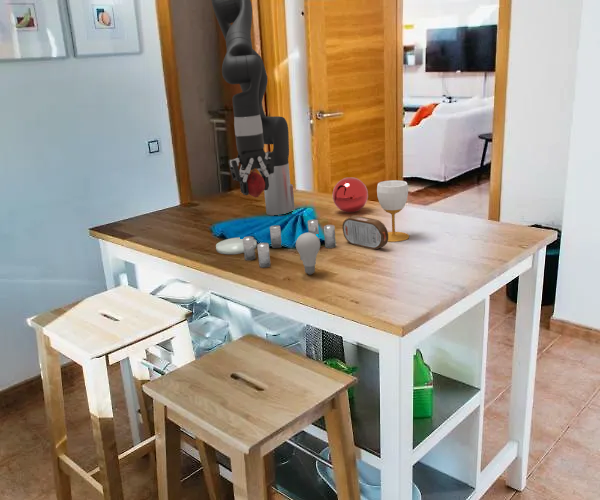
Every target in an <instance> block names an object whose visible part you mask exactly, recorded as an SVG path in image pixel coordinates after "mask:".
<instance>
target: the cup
mask: <svg viewBox="0 0 600 500" xmlns="http://www.w3.org/2000/svg"><path fill="white" fill-rule="evenodd" d="M376 194H377V199H378V203H379V205H380V207H381V208H382V209H383V211H385V212H386V213H388V214H390V215H391V231H388V242H387V243H397V242H398V243H399V242H403V241H406V240H408V239H409V238H410V235H409V234H408V233H406V232H402V231H396V222H395V221H396V220H395V215H396V214H398V213H400V212H401V211H402V210H403V209H404V208H405V206H406V203H407V200H408V196H409V185H408V182H407V181H405V180H399V179H398V180H397V179H395V180H392V179H391V180H384V181H380V182H378V183H377V187H376Z"/></svg>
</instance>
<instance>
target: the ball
mask: <svg viewBox="0 0 600 500" xmlns="http://www.w3.org/2000/svg"><path fill="white" fill-rule="evenodd" d="M332 190H333V191H332V200H333V203H334V205H335V206H336V208H337V209H339V211H341V212H344V213H348V214H349V213H351V214H352V213H357V212H358V211H360V210H362V209H363V208H364V207H365V206H366V204H367V202H368V198H369V193H368V192H369V191H368V188H367V186H366V184H364V182H363V181H362V180H360V179H359V178H357V177H343V178H342V179H340V180H339V181H338V182H337V183H336V184H335V185H334V187H333V189H332Z"/></svg>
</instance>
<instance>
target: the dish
mask: <svg viewBox="0 0 600 500" xmlns="http://www.w3.org/2000/svg"><path fill="white" fill-rule="evenodd" d="M253 239H254V248H255V249H256V248H257V244H258V243H257V240H256V239H255V238H253ZM215 247H216V248H215V249H216V250H215V251H216V253H219V254H222V255H241V254H244V247H243V239H240V237H231V238H228V239H227V238H226V239H224V240H221V241H219V242H218V243H216V245H215Z"/></svg>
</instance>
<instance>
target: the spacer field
mask: <svg viewBox="0 0 600 500" xmlns="http://www.w3.org/2000/svg"><path fill="white" fill-rule="evenodd" d="M307 229H308V230H307V231H308V232H307V233H313V234H315V235H316V234H319V233H320V230H319V220H318V219H309V220H307ZM335 230H336V227H335V225H334V224H326V225H324V226H323V234H324V236H323V237H324V247H325V248H328V249H333V248H336V246H337V245H336V231H335ZM269 231H270V232H269V233H270V234H269V235H270V242H271V248H272V249H280V248H282V247H283V245H282V246H281V243H282V231H281V226H280V225H275V224H274V225H271V226H269ZM319 235H320V234H319ZM254 239H255V238H254V236H244V238H243V247H244V253H243V255H244V260H245V261H254V260H256V248H257V254H258V255H257V257H258V266H259V268H270V267H271V258H270V246H269V243H268V242H260V243H257V247H256V248H254ZM299 255H300V254H299ZM299 258H300V261H303V260H302V257H301V255H300V257H299Z"/></svg>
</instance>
